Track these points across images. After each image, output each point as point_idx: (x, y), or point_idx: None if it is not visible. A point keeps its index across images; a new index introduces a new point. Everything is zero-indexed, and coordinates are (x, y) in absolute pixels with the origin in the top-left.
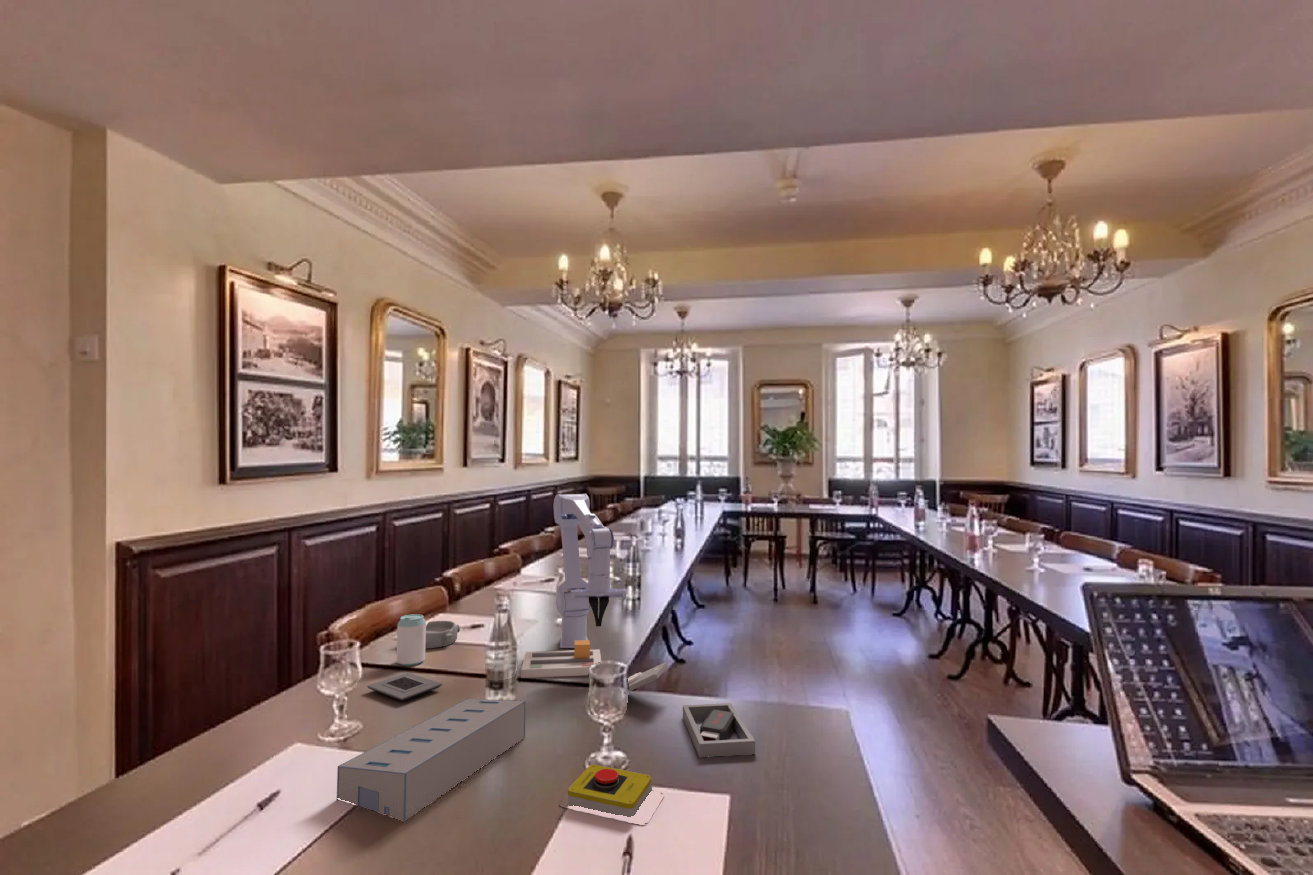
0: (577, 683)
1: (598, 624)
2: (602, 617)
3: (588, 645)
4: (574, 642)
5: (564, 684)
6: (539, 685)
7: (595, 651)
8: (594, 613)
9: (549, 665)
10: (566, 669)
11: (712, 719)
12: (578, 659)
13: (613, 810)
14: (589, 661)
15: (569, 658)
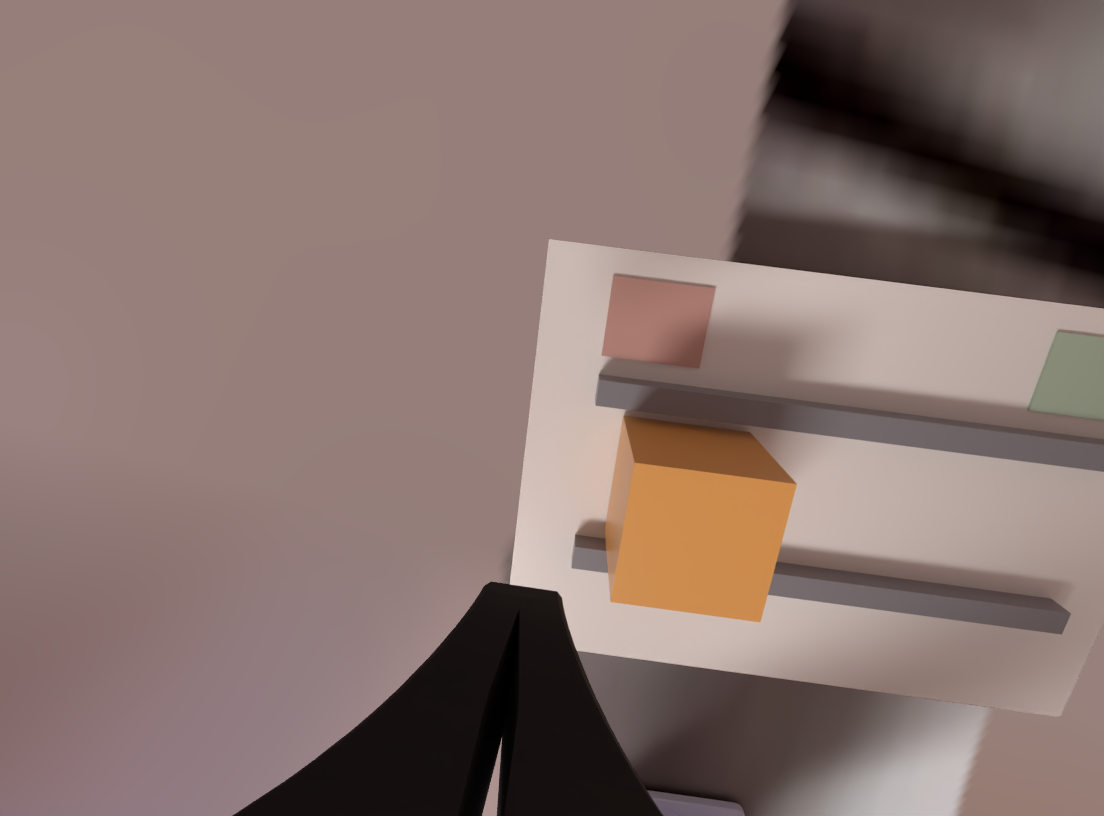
0: (777, 85)
1: (523, 597)
2: (436, 651)
3: (649, 460)
4: (766, 584)
5: (885, 86)
6: (1086, 111)
7: None
8: (598, 735)
9: (976, 374)
10: (847, 277)
11: None
12: (729, 397)
13: None
14: (633, 378)
15: None
